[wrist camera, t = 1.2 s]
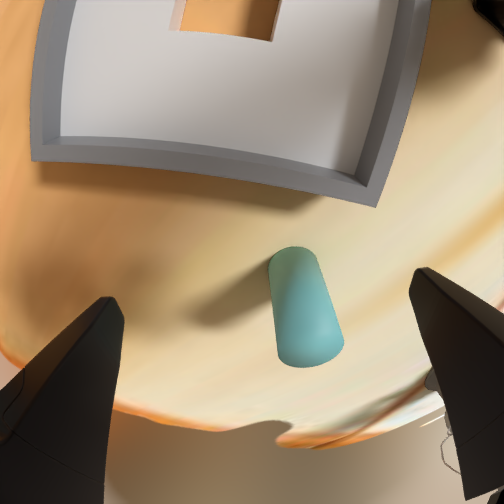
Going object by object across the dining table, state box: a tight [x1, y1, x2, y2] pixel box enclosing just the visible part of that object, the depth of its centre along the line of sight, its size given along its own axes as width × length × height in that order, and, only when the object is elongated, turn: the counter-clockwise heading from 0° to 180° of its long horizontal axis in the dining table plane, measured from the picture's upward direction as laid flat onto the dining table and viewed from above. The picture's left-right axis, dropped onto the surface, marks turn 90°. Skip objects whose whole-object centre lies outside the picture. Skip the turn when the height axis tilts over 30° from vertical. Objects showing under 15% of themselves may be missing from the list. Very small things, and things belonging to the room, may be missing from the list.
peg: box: [268, 247, 344, 368], centre depth 19 cm, size 4×4×8 cm
